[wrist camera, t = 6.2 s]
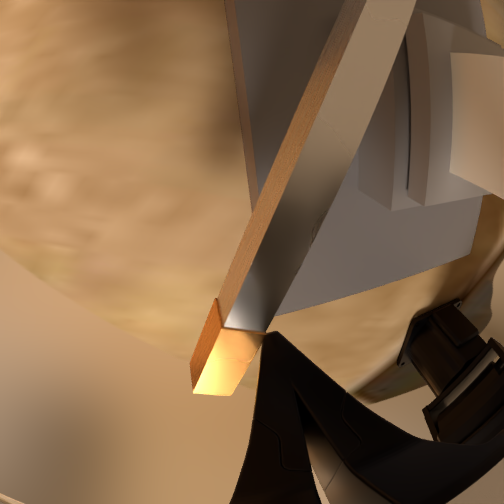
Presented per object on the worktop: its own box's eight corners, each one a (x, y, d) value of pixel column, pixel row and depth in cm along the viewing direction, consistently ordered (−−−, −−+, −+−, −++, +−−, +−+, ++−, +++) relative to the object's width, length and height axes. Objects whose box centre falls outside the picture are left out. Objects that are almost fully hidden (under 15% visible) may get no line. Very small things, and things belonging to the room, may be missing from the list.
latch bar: (233, 367, 10) (240, 396, 9) (179, 361, 10) (182, 391, 8) (429, -80, 3) (451, -87, 2) (385, -111, 2) (406, -123, 1)
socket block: (452, 241, 18) (505, 282, 14) (262, 293, 17) (295, 374, 12) (451, -25, 8) (517, -31, 3) (213, -77, 6) (237, -147, 1)
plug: (461, 166, 13) (574, 230, 6) (369, 175, 12) (516, 271, 5) (461, 50, 9) (590, 75, 3) (361, 25, 9) (536, 9, 2)
